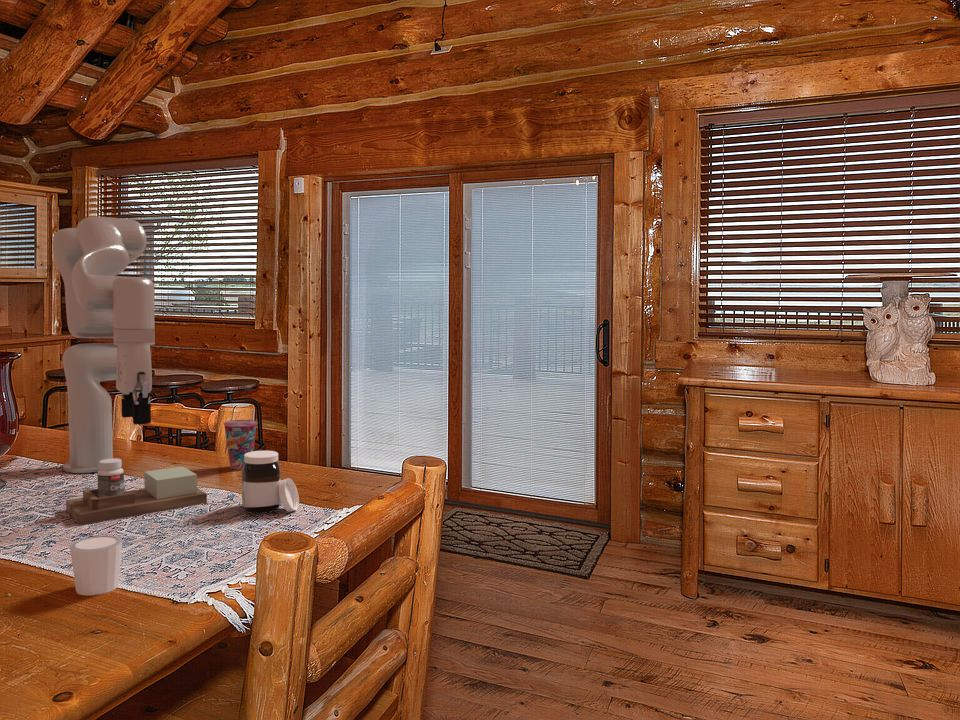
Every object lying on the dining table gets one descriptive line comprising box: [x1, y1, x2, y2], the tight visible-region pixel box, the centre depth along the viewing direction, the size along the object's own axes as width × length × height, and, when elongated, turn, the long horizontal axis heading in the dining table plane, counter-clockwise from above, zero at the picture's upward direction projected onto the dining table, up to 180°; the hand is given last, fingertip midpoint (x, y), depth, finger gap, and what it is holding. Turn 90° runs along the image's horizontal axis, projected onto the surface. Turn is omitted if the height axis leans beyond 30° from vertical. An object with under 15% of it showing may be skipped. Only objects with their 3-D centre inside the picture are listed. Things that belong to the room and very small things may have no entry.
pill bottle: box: [97, 457, 125, 498], centre depth 138 cm, size 5×5×8 cm
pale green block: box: [143, 466, 198, 499], centre depth 146 cm, size 9×8×4 cm
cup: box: [223, 419, 259, 471], centre depth 175 cm, size 9×8×12 cm
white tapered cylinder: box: [69, 534, 123, 596], centre depth 102 cm, size 7×7×7 cm
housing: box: [65, 486, 208, 526], centre depth 142 cm, size 12×24×4 cm, turn 132°
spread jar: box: [241, 450, 300, 514], centre depth 142 cm, size 12×11×12 cm
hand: (136, 420), depth 140 cm, fingers open, 9 cm apart
